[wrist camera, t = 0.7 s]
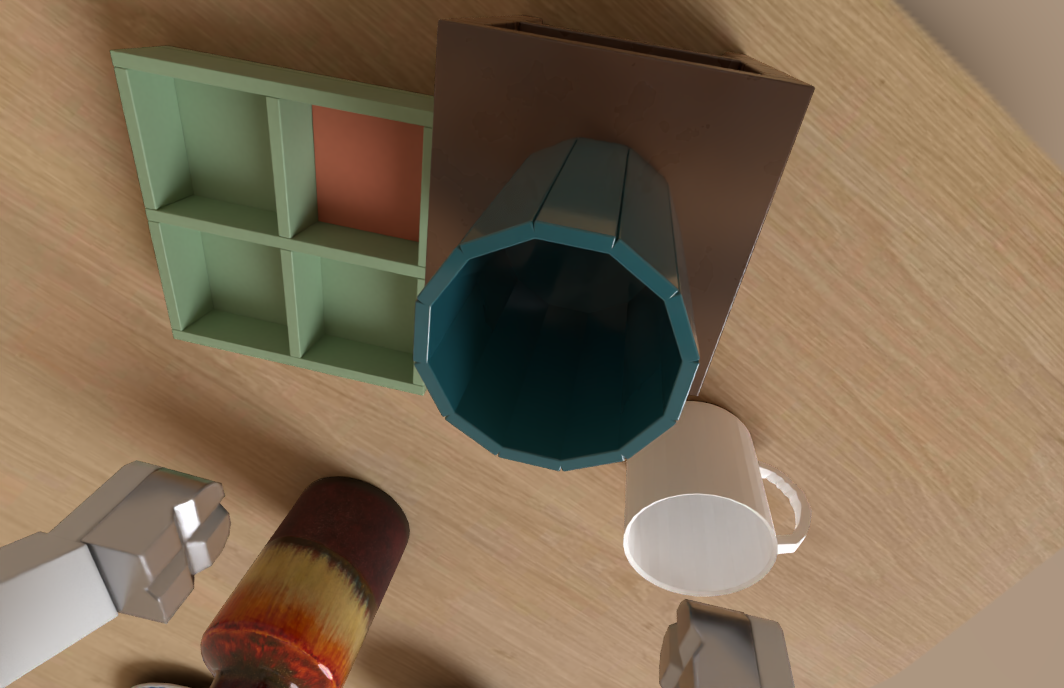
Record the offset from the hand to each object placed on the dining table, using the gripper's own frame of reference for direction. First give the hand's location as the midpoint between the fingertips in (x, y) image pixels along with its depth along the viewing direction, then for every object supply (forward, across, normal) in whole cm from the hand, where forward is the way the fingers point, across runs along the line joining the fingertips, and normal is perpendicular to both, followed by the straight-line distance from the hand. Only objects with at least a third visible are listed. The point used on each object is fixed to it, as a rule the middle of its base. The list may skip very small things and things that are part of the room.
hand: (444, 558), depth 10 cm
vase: (+27, +15, +36) cm, 48 cm away
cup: (+14, -1, -1) cm, 14 cm away
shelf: (+28, -1, -1) cm, 28 cm away
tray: (+28, +17, +8) cm, 33 cm away
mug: (+28, -13, +19) cm, 36 cm away
